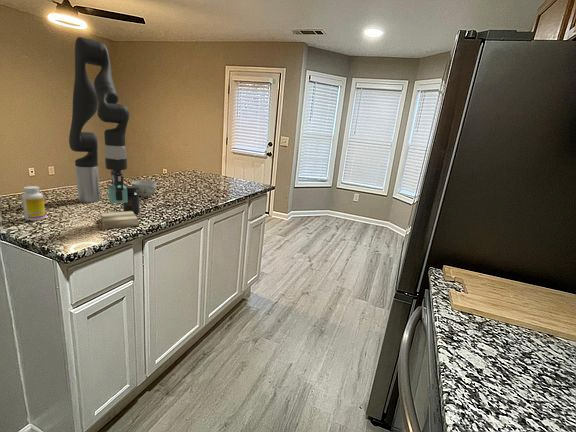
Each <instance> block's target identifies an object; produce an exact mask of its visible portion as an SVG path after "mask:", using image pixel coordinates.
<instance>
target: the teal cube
mask: <svg viewBox="0 0 576 432" xmlns="http://www.w3.org/2000/svg"><path fill="white" fill-rule="evenodd" d="M118 188H121V186H118ZM107 189H108V201H109V203H110V204H121V203H122V204H123V203H128V198H127V186H126V184H123V189H124V190H123V191H122V198H123V200H120V201H117V200H116V191H115V186H114V185H112V184H111V185H107Z"/></svg>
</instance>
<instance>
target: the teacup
mask: <svg viewBox="0 0 576 432" xmlns="http://www.w3.org/2000/svg"><path fill="white" fill-rule="evenodd" d="M131 186H135V187H137V191H136V192H137V193H138V194H139V196H141V197H140V198H148V197H147V196H149V197H151V196H152V195H154V194H156V189H157V182H156V181H155V180H147V179H146V180H145V179H141V180H139V179H138V180H135V181H132V182H131Z"/></svg>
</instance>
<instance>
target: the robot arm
mask: <svg viewBox="0 0 576 432" xmlns="http://www.w3.org/2000/svg"><path fill="white" fill-rule="evenodd" d="M86 64H87V65H92V66H98V67H100V71H99V72H98V74H97V75H96V77H95V78H94V81H93V83H92V82H91V80H90V78H89V77H90V76H89V75H88V73H87V69H86ZM73 84H74V85H73V92H72V93H73V94H72V112H71V113H72V117H71V125H70V129H69V137H68V144H69V148H70V150H71V151H73V152H78V153H79V152H80V153H87V154H86V155H84V156H82V157H80V158H79V157H78V158H77V159H75V161H74V165H75V166H74V167H75V174H76V175H75V176H76V177H75V178H76V187H77V199H78V201H79V202H81V203H96V202H99V201H100V200H101V192H100V177H99V156H98V155H99V154H98V152H99V151H98V150H99V149H98V147H99V146H98V138H97V135H96V134H95V133H94V132H90V131H88V132H87V131H82V130H83V129H84V126H85V125H86V124H87V122H89V121H90V120H91V119H92V118H93V117H94V115H96V113H97V117H98V119H100V121H102V122H104V123H109V124H110V123H111V124H117V125H116V127H113V128H109V129H105V130H104V133H103V134H104V161H105V162H104V163H105V164H104V165H105V169H107V170H110V177H111V185H114V186H115V191H116V200H117V201H120V200H123V198H122V191H123V190H124V189H123V185H124V174H123V173H122V171H125V170H127V169H128V156H127V155H128V154H127V147H126V146H127V145H126V132H127V126H128V123H129V119H130V111H129V109H128V108H127V106H126V105H124V104H120V103H118V102H119V95H118V91H117V88H116V86H115V83H114V80H113V72H112V66H111V60H110V55H109V50H108V48H107V45H105V43H104V42H101V41H97V40H95V39H90V38H86V37H82V36H78V37H77V38H76V39H75V43H74V81H73ZM118 186H121V188H118Z"/></svg>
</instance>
